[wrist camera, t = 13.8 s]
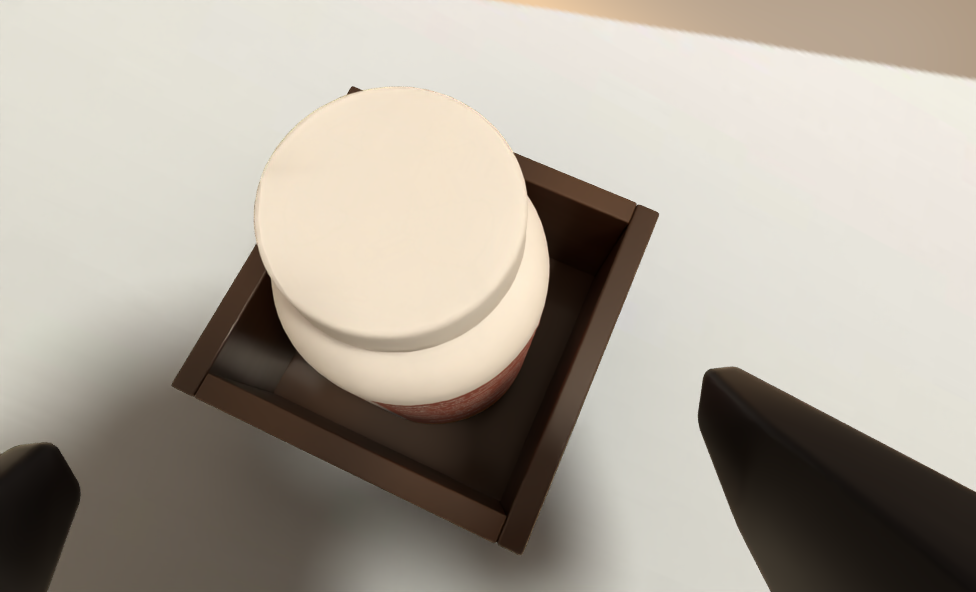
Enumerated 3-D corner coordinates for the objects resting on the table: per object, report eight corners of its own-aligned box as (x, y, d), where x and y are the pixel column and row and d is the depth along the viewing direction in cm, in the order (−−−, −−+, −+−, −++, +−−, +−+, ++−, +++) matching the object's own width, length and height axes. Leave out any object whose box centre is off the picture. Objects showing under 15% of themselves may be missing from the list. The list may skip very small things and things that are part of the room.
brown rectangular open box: (616, 272, 22) (660, 211, 16) (510, 529, 19) (522, 557, 14) (381, 172, 23) (351, 84, 17) (250, 404, 20) (169, 385, 15)
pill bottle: (548, 286, 21) (621, 106, 10) (492, 451, 19) (507, 444, 9) (390, 232, 21) (300, 6, 11) (321, 389, 20) (136, 308, 9)
